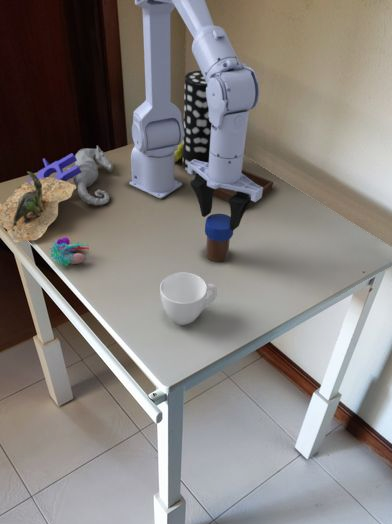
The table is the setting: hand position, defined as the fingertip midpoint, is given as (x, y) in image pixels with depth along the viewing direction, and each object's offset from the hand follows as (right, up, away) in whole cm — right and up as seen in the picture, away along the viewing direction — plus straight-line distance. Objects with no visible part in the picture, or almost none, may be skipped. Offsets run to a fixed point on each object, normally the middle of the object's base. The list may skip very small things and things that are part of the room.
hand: (220, 220), depth 92 cm
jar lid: (0, 0, 0) cm, 0 cm away
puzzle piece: (-35, +14, +17) cm, 41 cm away
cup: (-6, -18, -5) cm, 20 cm away
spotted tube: (-4, +21, +29) cm, 36 cm away
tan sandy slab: (-40, +9, +5) cm, 42 cm away
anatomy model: (-25, -5, +2) cm, 25 cm away
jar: (0, -5, +6) cm, 8 cm away
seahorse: (-25, +7, +15) cm, 30 cm away
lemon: (-10, +26, +29) cm, 40 cm away
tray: (+5, +13, +22) cm, 26 cm away
